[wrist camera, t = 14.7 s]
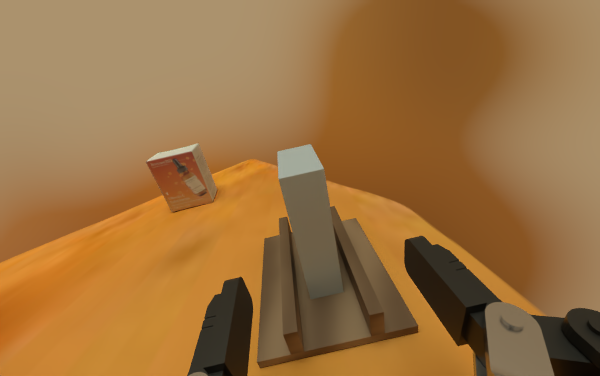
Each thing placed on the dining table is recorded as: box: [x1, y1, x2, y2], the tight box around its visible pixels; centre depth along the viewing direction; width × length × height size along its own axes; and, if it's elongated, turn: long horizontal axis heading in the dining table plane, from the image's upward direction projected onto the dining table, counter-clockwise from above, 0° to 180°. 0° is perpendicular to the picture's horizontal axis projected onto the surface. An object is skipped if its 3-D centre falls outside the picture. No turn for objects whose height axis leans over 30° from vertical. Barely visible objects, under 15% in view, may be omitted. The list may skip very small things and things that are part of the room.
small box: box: [146, 144, 217, 212], centre depth 43 cm, size 8×6×10 cm
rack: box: [257, 206, 418, 368], centre depth 22 cm, size 12×14×3 cm
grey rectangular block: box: [278, 144, 344, 299], centre depth 20 cm, size 3×6×12 cm, turn 6°
